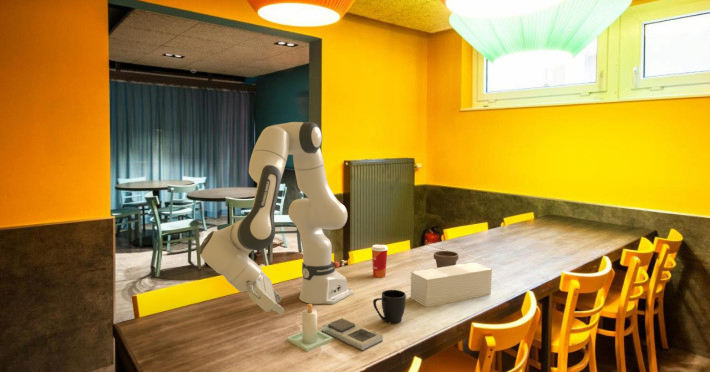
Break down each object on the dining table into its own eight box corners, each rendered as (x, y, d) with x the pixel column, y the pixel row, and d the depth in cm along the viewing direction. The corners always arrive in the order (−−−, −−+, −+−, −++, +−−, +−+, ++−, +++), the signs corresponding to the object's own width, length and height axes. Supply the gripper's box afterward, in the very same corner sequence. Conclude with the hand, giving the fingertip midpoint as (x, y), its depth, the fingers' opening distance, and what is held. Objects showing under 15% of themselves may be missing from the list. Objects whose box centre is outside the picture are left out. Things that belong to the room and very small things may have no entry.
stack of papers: (472, 286, 182) (473, 262, 181) (490, 294, 173) (492, 269, 172) (410, 298, 168) (411, 271, 167) (426, 307, 159) (427, 279, 157)
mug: (367, 319, 147) (367, 293, 146) (397, 314, 152) (397, 288, 151) (379, 329, 139) (379, 301, 138) (409, 322, 145) (410, 295, 144)
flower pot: (430, 271, 203) (430, 250, 202) (453, 270, 204) (453, 250, 203) (437, 278, 192) (437, 257, 190) (461, 278, 193) (462, 256, 192)
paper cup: (371, 272, 199) (372, 243, 198) (388, 273, 198) (388, 244, 197) (370, 278, 191) (370, 247, 190) (387, 279, 190) (387, 248, 189)
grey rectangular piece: (341, 325, 142) (342, 315, 142) (382, 343, 130) (382, 333, 129) (321, 333, 136) (321, 323, 136) (362, 353, 123) (362, 342, 123)
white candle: (310, 335, 133) (310, 300, 132) (320, 340, 130) (320, 304, 129) (299, 340, 130) (299, 304, 129) (308, 345, 127) (308, 308, 125)
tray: (312, 331, 137) (312, 327, 137) (332, 342, 130) (332, 337, 130) (286, 342, 130) (286, 337, 130) (307, 353, 123) (307, 348, 123)
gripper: (256, 279, 113) (293, 311, 117) (253, 259, 133) (285, 287, 136) (239, 297, 113) (276, 328, 116) (239, 274, 132) (271, 301, 136)
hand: (281, 306), depth 126 cm, fingers open, 8 cm apart
